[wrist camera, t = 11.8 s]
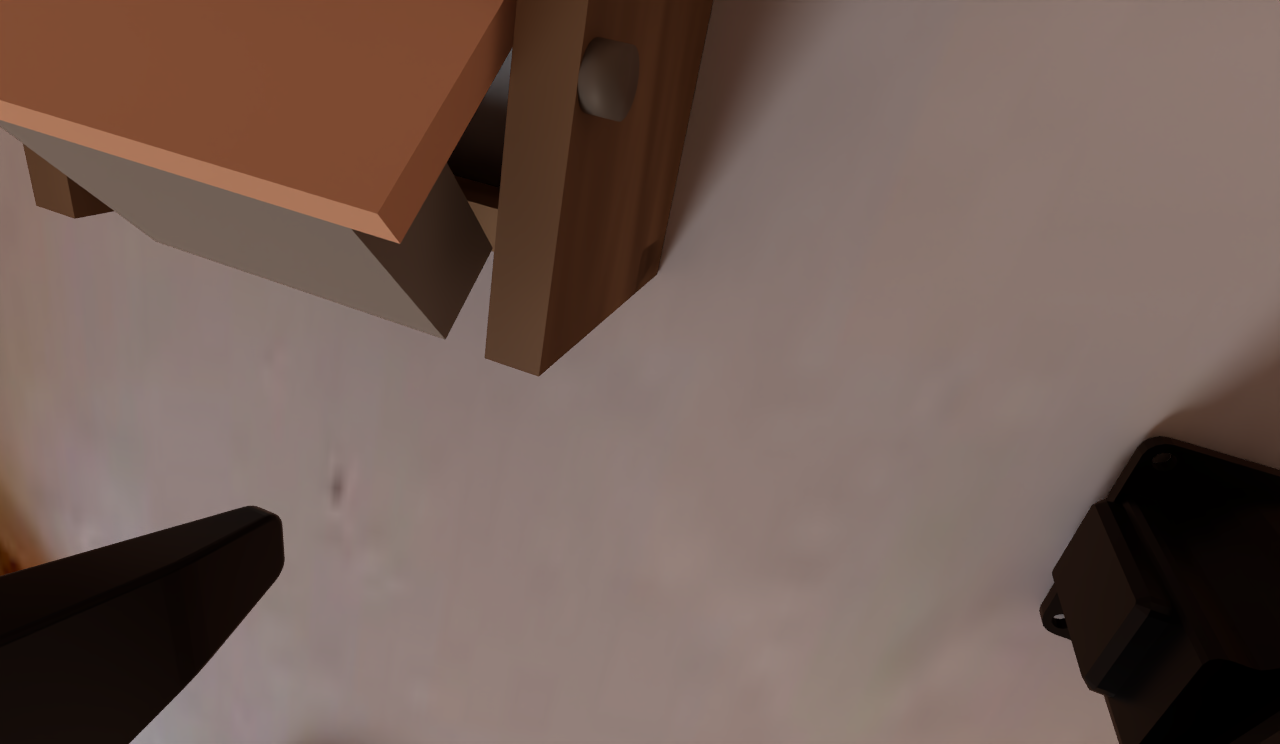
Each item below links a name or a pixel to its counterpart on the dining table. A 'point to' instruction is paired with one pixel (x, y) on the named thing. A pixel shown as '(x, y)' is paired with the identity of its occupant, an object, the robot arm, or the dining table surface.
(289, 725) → the dining table surface
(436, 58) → the trapdoor
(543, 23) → the trapdoor frame
